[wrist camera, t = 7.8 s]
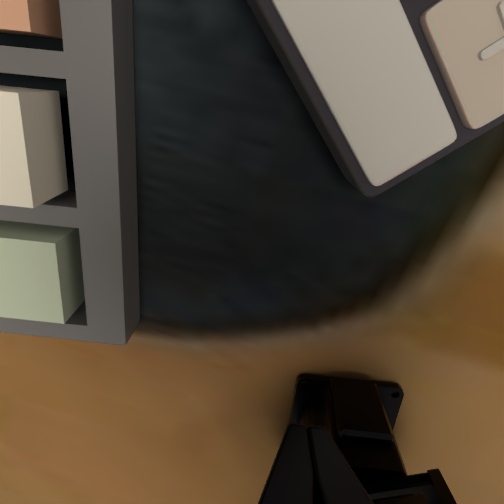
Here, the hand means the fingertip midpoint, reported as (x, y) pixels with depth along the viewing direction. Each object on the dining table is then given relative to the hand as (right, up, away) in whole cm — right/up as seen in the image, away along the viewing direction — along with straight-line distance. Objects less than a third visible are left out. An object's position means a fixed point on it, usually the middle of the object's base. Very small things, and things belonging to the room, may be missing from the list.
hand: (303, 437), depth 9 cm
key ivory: (-12, +9, +9) cm, 18 cm away
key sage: (-12, +4, +13) cm, 18 cm away
